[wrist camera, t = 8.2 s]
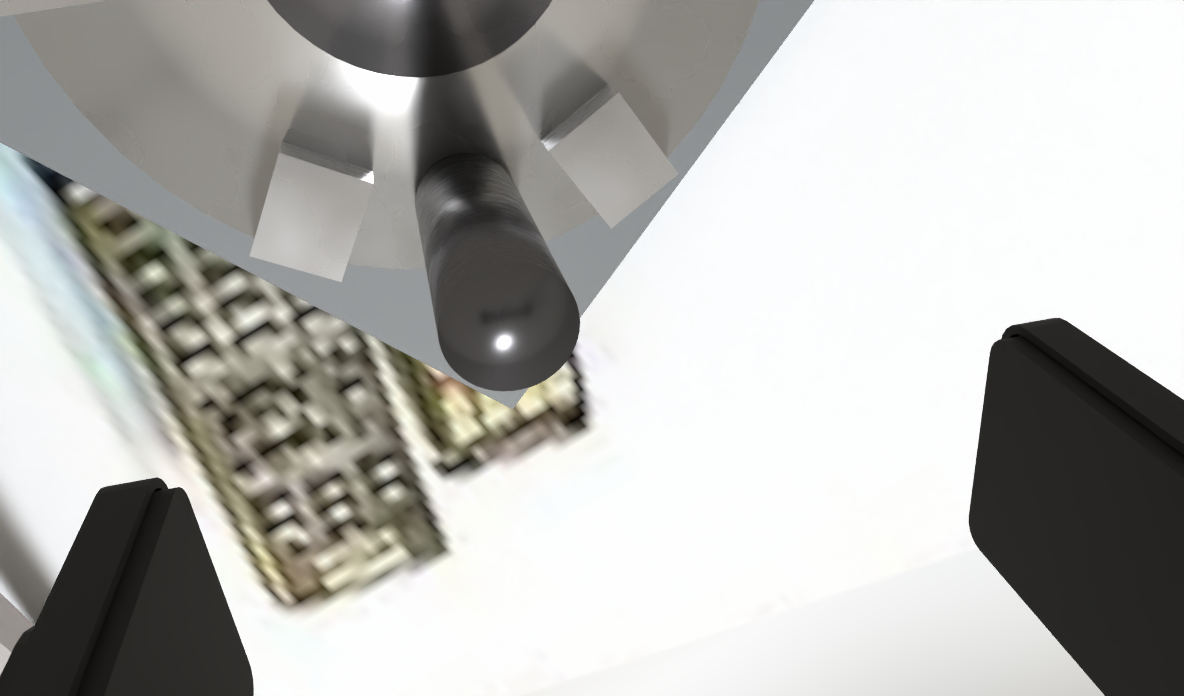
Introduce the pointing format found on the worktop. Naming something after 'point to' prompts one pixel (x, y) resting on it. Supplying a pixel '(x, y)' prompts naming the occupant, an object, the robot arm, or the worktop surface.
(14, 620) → the caliper
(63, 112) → the mount plate
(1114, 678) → the robot arm
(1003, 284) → the worktop surface
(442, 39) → the grey round knob
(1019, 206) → the worktop surface
